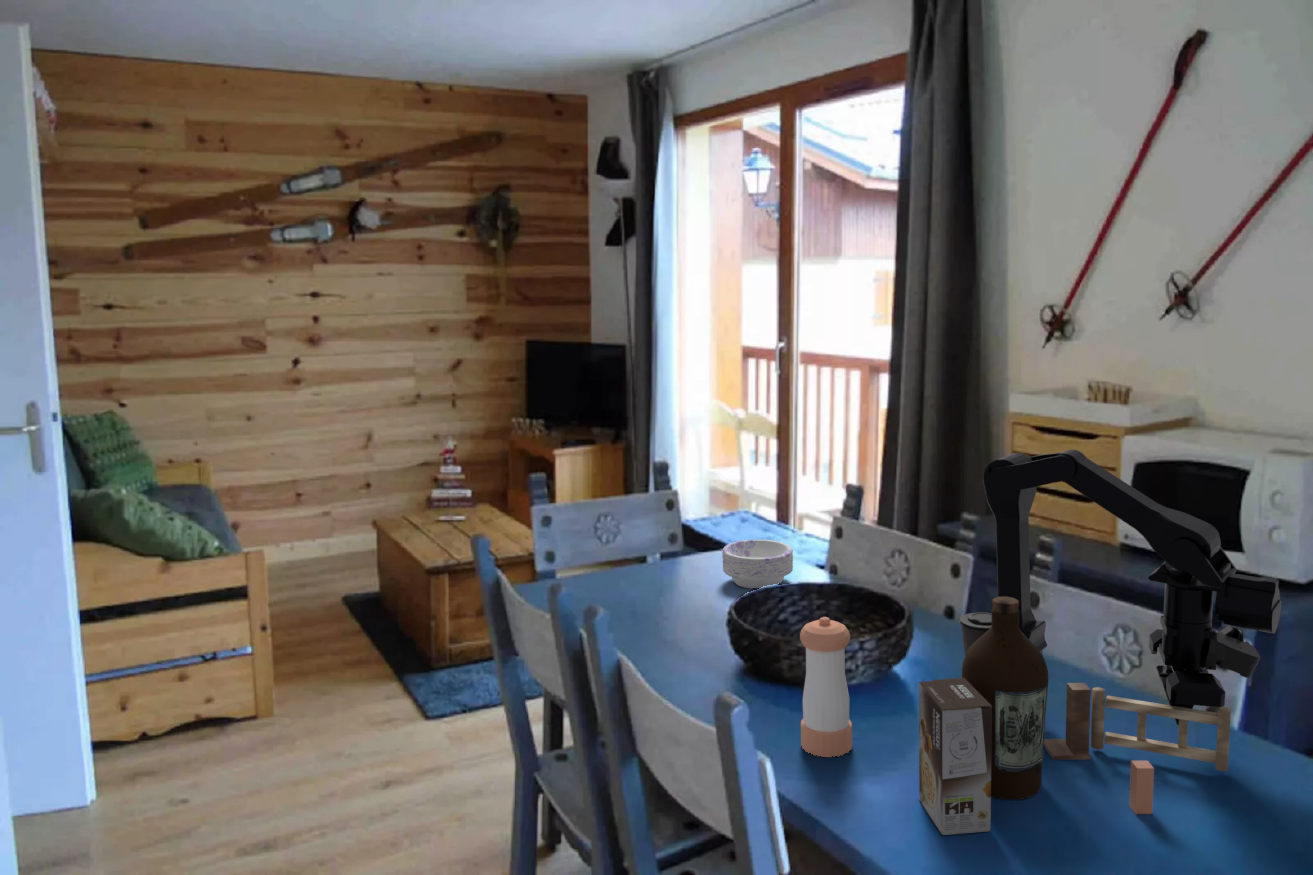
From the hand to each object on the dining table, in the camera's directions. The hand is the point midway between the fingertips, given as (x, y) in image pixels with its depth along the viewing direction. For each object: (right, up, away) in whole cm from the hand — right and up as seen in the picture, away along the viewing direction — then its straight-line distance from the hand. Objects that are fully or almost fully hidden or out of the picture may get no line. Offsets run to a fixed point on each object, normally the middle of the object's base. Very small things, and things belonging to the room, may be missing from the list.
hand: (1181, 725), depth 141 cm
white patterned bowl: (-49, +7, +86) cm, 99 cm away
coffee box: (-34, -8, -11) cm, 37 cm away
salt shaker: (-47, -6, +8) cm, 48 cm away
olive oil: (-26, -7, -4) cm, 27 cm away
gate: (-3, -4, 0) cm, 6 cm away
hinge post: (-14, -5, +4) cm, 15 cm away
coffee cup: (-17, 0, +32) cm, 36 cm away
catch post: (-11, -7, -12) cm, 18 cm away
